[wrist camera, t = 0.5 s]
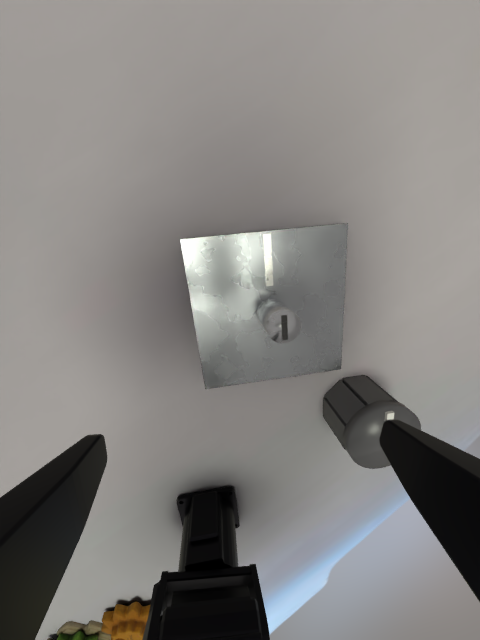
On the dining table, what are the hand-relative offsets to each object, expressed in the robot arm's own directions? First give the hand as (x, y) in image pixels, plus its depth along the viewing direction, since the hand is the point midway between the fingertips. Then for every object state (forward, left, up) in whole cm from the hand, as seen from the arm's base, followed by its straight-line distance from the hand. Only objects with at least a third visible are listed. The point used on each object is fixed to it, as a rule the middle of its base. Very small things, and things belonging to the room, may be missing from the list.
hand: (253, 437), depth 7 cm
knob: (-11, -12, -13) cm, 21 cm away
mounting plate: (0, -4, -13) cm, 14 cm away
